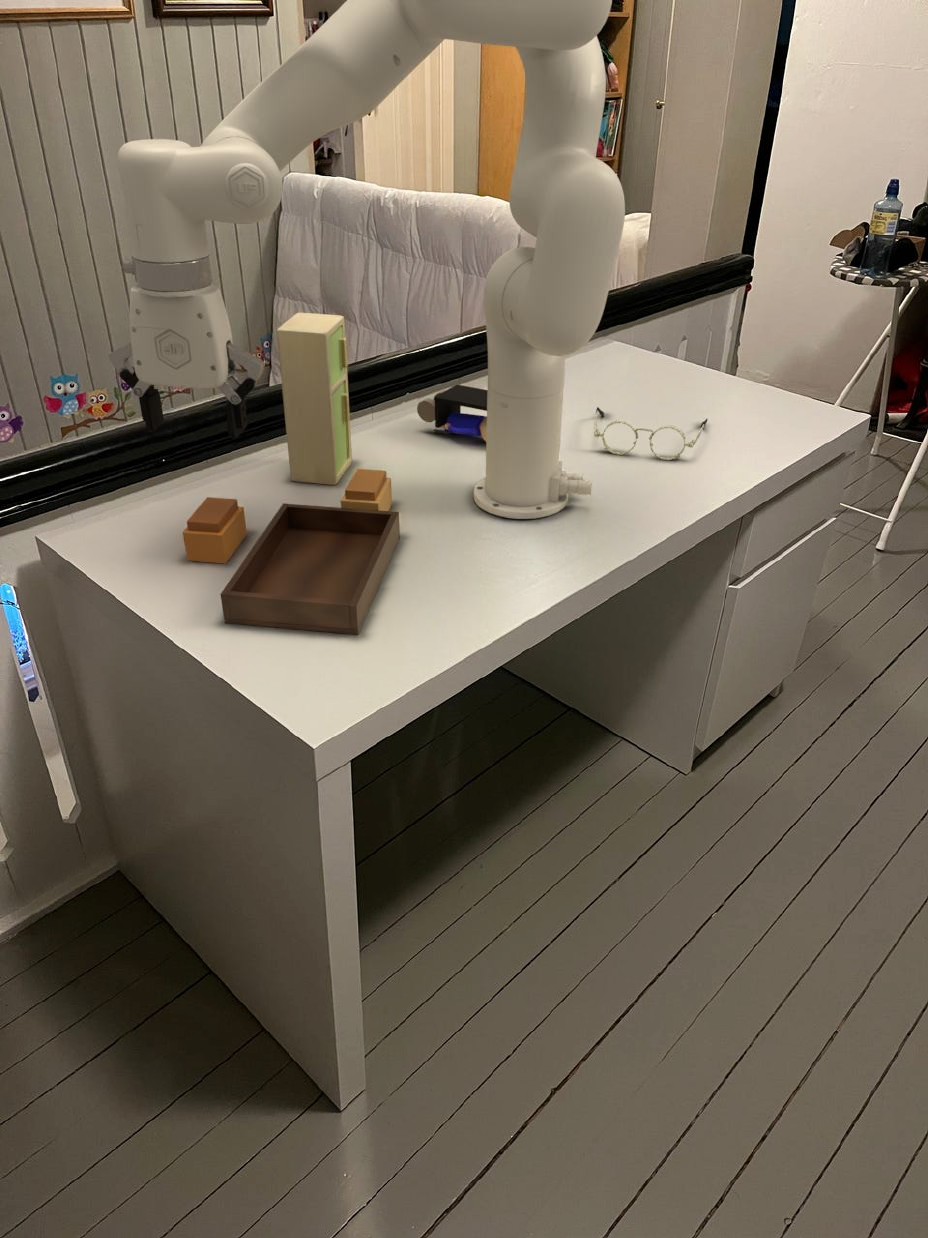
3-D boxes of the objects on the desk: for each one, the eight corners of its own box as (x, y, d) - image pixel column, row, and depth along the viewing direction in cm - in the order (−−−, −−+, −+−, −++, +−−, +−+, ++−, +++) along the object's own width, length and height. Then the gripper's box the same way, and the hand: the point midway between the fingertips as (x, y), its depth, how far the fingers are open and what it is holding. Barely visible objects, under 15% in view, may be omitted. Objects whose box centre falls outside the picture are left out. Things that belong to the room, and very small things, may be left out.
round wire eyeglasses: (583, 450, 140) (585, 418, 137) (599, 414, 152) (601, 384, 149) (700, 464, 136) (705, 431, 133) (706, 425, 148) (711, 395, 145)
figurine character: (417, 442, 145) (500, 454, 138) (411, 394, 142) (496, 403, 134) (442, 428, 150) (523, 439, 142) (437, 381, 146) (520, 389, 138)
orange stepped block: (247, 534, 117) (242, 497, 114) (226, 563, 111) (220, 526, 108) (210, 531, 118) (204, 494, 115) (187, 560, 112) (180, 523, 109)
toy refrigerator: (341, 486, 129) (330, 332, 117) (290, 481, 130) (274, 328, 118) (358, 463, 135) (349, 315, 124) (309, 458, 136) (296, 311, 125)
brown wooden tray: (399, 537, 117) (399, 511, 115) (358, 634, 99) (356, 605, 97) (285, 528, 118) (283, 503, 116) (224, 622, 100) (220, 594, 98)
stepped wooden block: (392, 504, 124) (390, 469, 122) (379, 530, 118) (377, 494, 115) (356, 501, 125) (354, 466, 122) (342, 527, 119) (339, 491, 116)
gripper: (77, 277, 95) (108, 437, 105) (241, 287, 93) (258, 449, 103) (111, 261, 102) (138, 413, 111) (266, 270, 100) (280, 424, 109)
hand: (196, 430), depth 107 cm, fingers open, 9 cm apart
